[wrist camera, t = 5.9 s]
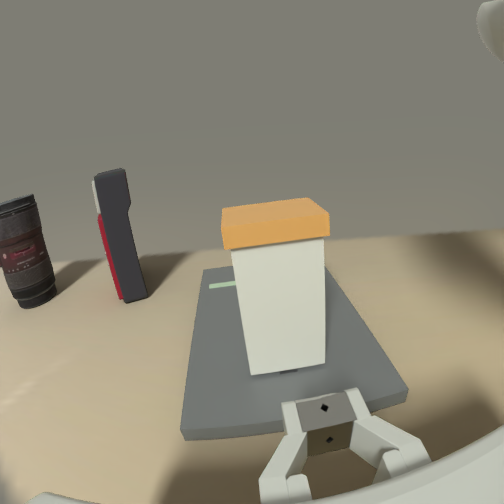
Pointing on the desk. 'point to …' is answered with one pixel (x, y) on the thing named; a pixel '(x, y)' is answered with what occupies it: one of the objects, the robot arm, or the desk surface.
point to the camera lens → (25, 253)
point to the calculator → (118, 233)
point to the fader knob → (279, 281)
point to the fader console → (275, 383)
